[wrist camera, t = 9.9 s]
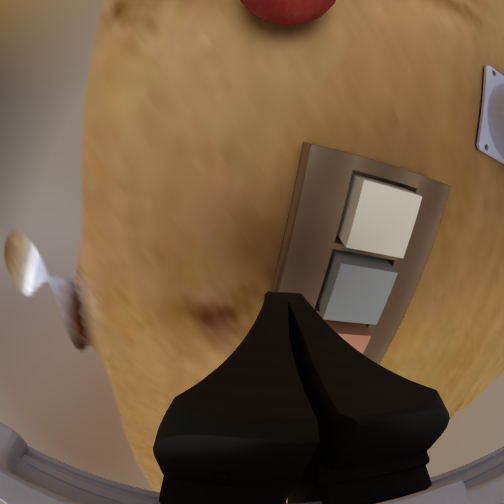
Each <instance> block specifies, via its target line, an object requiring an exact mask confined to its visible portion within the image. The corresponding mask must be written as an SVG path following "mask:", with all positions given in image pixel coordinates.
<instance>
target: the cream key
mask: <svg viewBox="0 0 504 504" xmlns="http://www.w3.org/2000/svg"><path fill="white" fill-rule="evenodd" d="M421 200H422V196H420V195H418V194H416V193H414V192H412V191H409V190H407V189H405V188H403V187H399V186H396V185H393V184H389V183H386V182H382V181H379V180H375V179H371V178H368V177H364V176H360V175H356V174H352V175H351V180H350V184H349V188H348V192H347V197H346V201H345V205H344V209H343V213H342V216H341V220H340V224H339V228H338V232H337V236H338V237H339V238H340V240H341V241H342V243H343V244H344V245H345V247H346V248H351V249H356V250H362V251H367V252H372V253H378V254H383V255H388V256H393V257H398V258H403V257H404V255H405V252H406V249H407V246H408V243H409V240H410V237H411V234H412V231H413V227H414V224H415V221H416V217H417V214H418V211H419V207H420V204H421Z"/></svg>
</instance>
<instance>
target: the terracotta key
mask: <svg viewBox="0 0 504 504" xmlns="http://www.w3.org/2000/svg"><path fill="white" fill-rule="evenodd" d="M323 320H324V321H325V322H326V323H327V324H328V325H329V326H330V327H331V328H332V329H333V330H334V331H335V332H336V333H337V334H339V335H340V336H341V337H342V338H343V339H344V340H345V341H346V342H348V343H349V344H350V345H351V346H353V347H354V348H355V349H357V350H358V351H359V352H360V353H362V354H363V352H364V350H365V348H366V346H367V344H368V342H369V340H370V338H371V334H370V332H369V330H368V328H367V326H366V324H363V323H353V322H343V321H334V320H325V319H323Z"/></svg>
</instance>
